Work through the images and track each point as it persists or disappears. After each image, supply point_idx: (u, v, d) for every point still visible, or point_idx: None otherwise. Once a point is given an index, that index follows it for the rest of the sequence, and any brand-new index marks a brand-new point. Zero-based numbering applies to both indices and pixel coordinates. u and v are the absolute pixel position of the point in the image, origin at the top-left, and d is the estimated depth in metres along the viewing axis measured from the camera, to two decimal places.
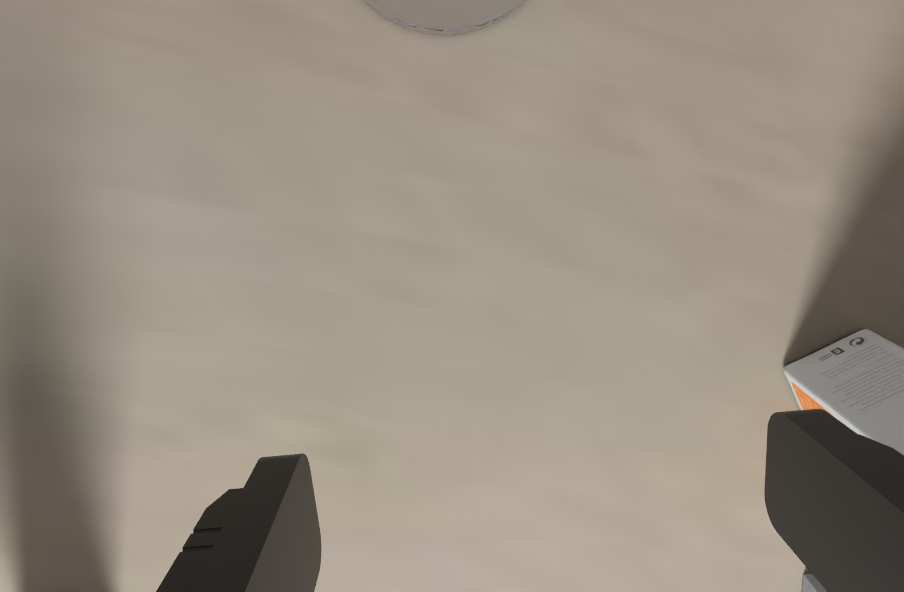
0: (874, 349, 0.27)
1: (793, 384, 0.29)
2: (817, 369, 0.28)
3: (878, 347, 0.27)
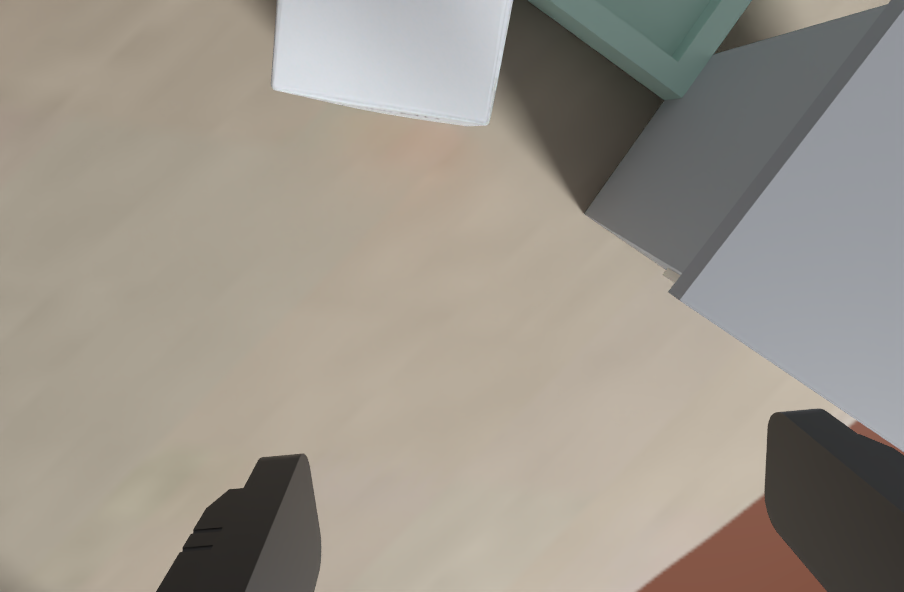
0: None
1: None
2: None
3: None
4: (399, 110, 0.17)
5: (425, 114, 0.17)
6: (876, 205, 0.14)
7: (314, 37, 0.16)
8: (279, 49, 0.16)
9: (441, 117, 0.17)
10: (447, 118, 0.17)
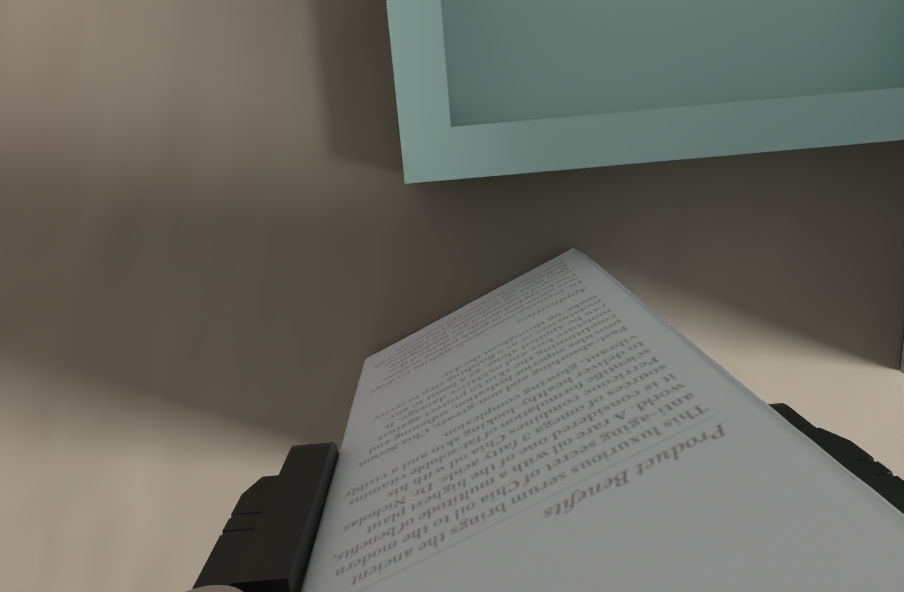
0: None
1: None
2: None
3: None
4: None
5: None
6: None
7: None
8: None
9: None
10: None
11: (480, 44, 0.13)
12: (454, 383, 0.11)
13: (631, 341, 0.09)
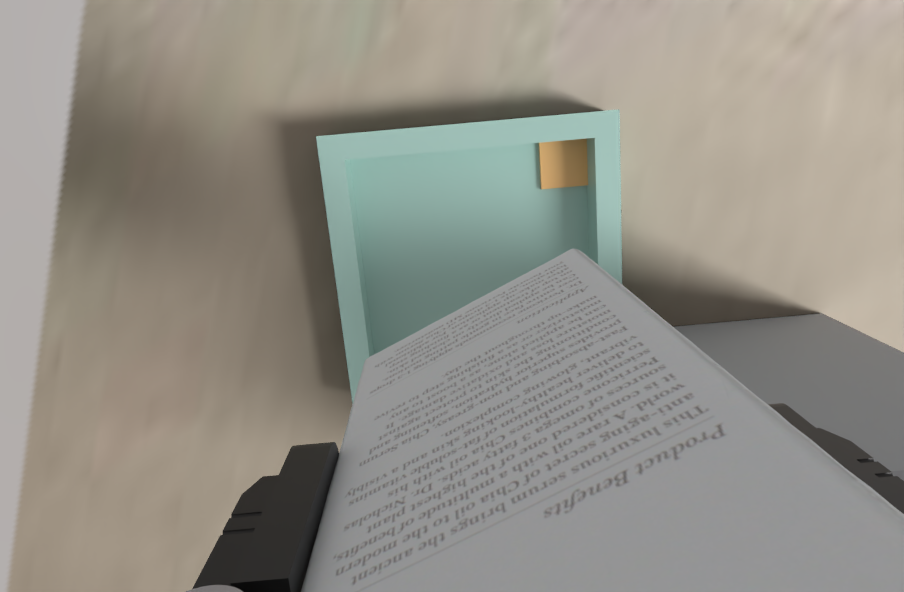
0: None
1: None
2: None
3: None
4: None
5: None
6: None
7: None
8: None
9: None
10: None
11: (390, 343, 0.29)
12: (454, 384, 0.11)
13: (631, 341, 0.09)
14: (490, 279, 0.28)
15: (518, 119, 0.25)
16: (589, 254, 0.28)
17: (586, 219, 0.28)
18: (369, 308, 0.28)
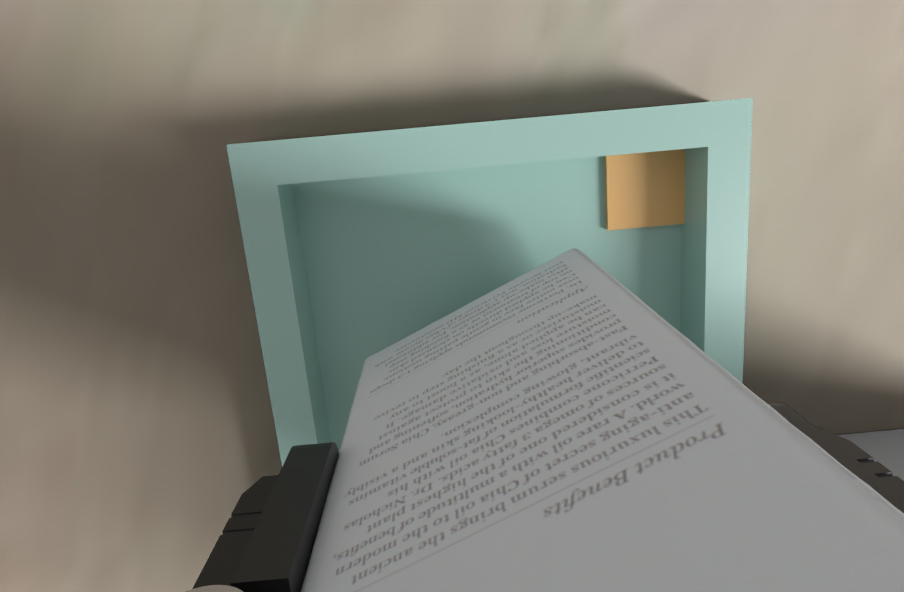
0: None
1: None
2: None
3: None
4: None
5: None
6: None
7: None
8: None
9: None
10: None
11: None
12: (454, 383, 0.11)
13: (630, 340, 0.09)
14: None
15: (577, 115, 0.14)
16: (681, 333, 0.17)
17: (678, 277, 0.17)
18: (329, 417, 0.18)
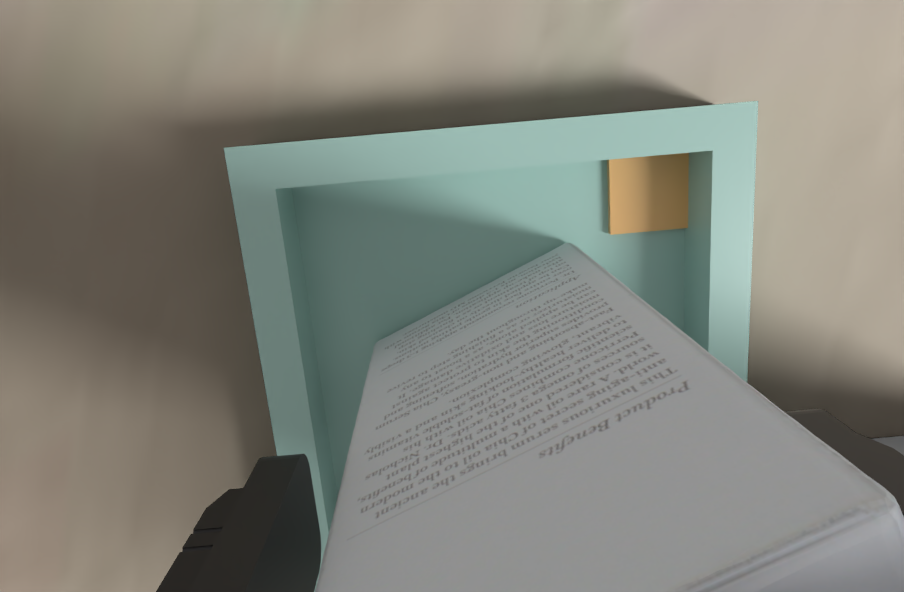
0: None
1: None
2: None
3: None
4: None
5: None
6: None
7: None
8: None
9: None
10: None
11: None
12: (459, 359, 0.12)
13: (616, 320, 0.11)
14: None
15: (580, 118, 0.14)
16: None
17: (681, 282, 0.17)
18: (328, 423, 0.18)
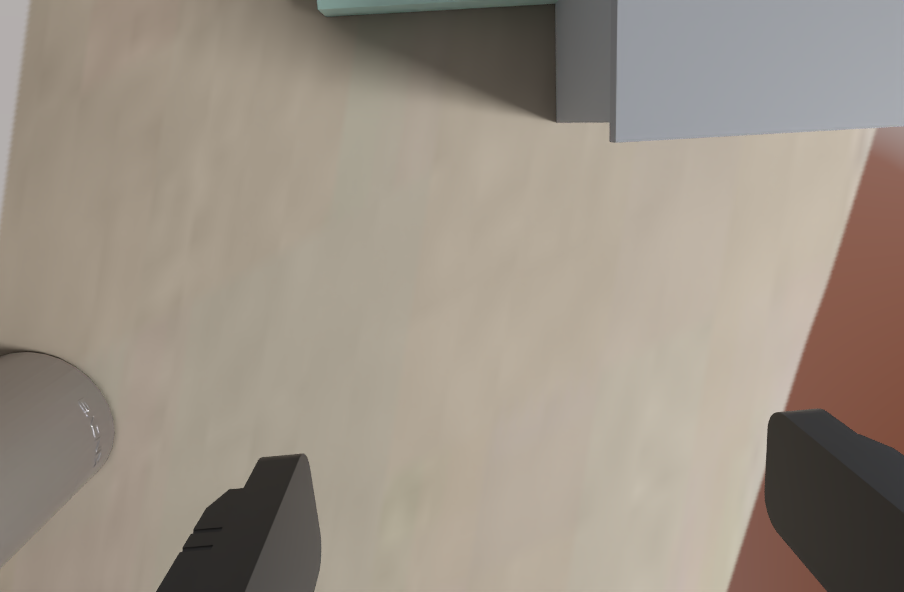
0: None
1: None
2: None
3: None
4: None
5: None
6: None
7: None
8: None
9: None
10: None
11: None
12: None
13: None
14: None
15: None
16: None
17: None
18: None
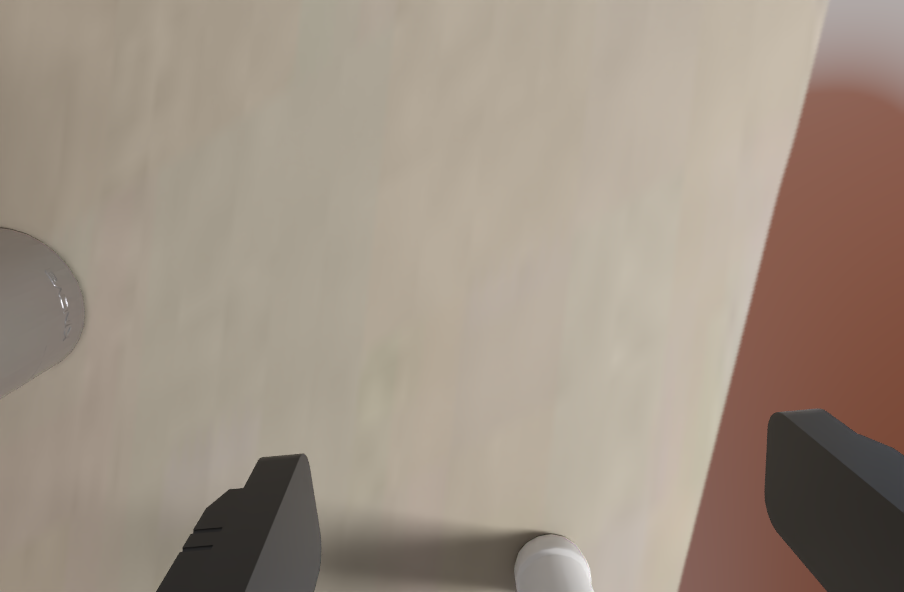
0: None
1: None
2: None
3: None
4: None
5: None
6: None
7: None
8: None
9: None
10: None
11: None
12: None
13: None
14: None
15: None
16: None
17: None
18: None
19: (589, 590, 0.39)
